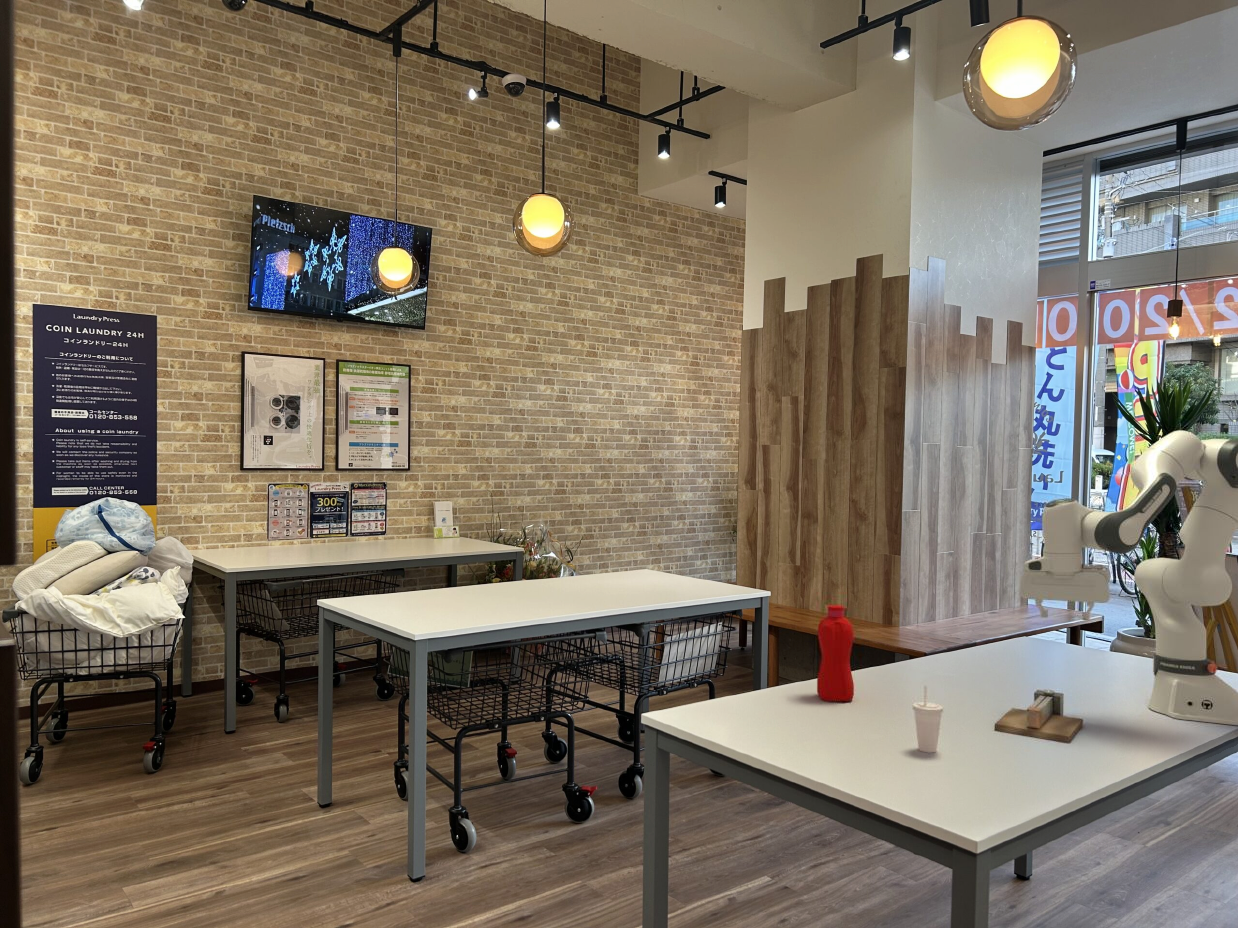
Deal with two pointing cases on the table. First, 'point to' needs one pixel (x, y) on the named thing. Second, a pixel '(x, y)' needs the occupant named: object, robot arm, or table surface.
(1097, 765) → the table surface
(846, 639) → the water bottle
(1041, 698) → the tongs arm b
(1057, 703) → the pivot block
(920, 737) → the smoothie
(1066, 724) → the walnut board
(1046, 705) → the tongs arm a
